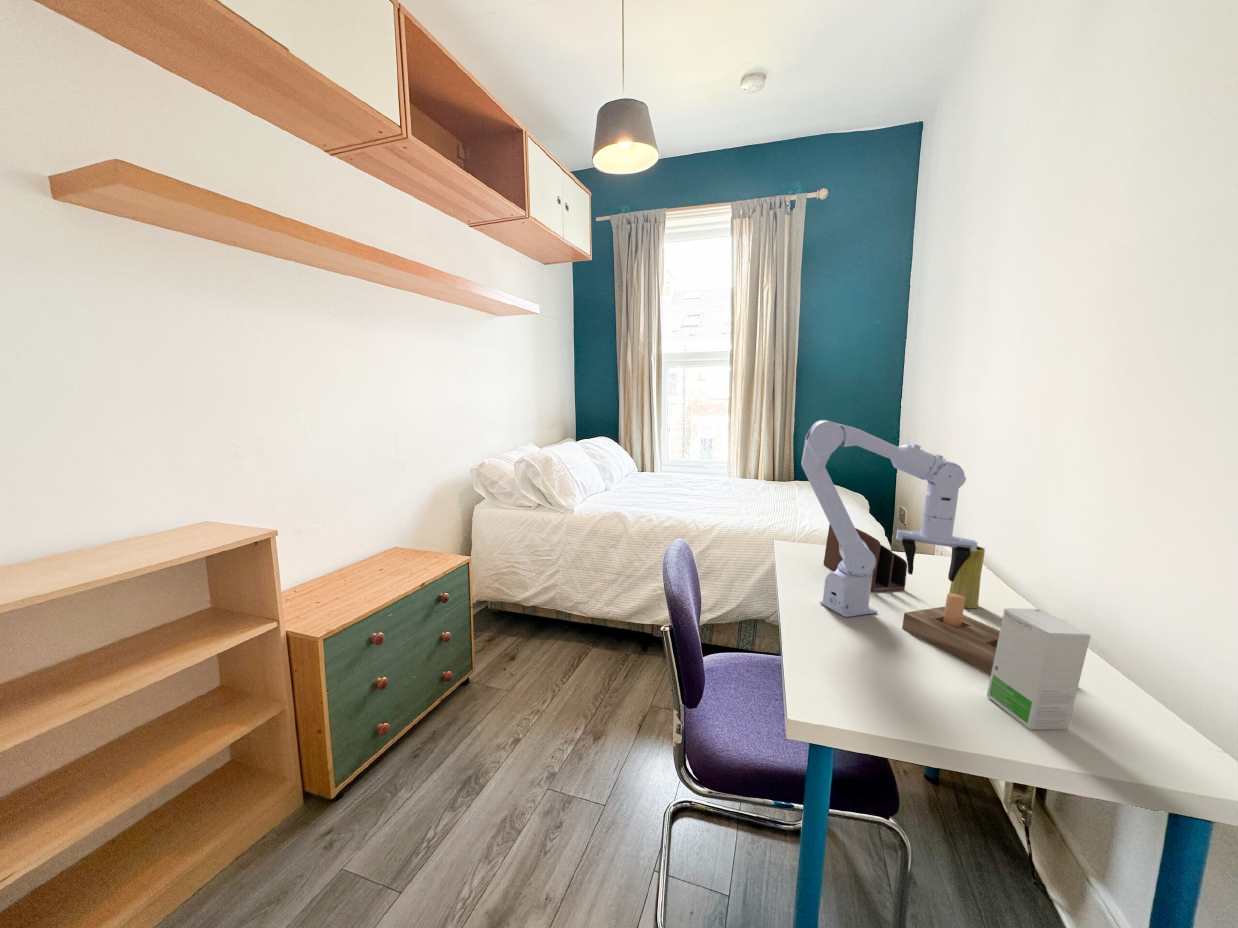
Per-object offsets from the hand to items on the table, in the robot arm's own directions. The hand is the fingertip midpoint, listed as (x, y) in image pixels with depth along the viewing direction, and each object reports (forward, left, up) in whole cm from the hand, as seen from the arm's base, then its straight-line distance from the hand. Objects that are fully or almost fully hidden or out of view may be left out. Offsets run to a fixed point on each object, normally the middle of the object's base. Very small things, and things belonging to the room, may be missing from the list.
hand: (930, 576), depth 106 cm
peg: (-3, -8, -10) cm, 13 cm away
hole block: (-3, -13, -10) cm, 17 cm away
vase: (+18, +4, -10) cm, 21 cm away
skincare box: (-15, -29, -10) cm, 34 cm away
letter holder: (+7, +24, -10) cm, 27 cm away
